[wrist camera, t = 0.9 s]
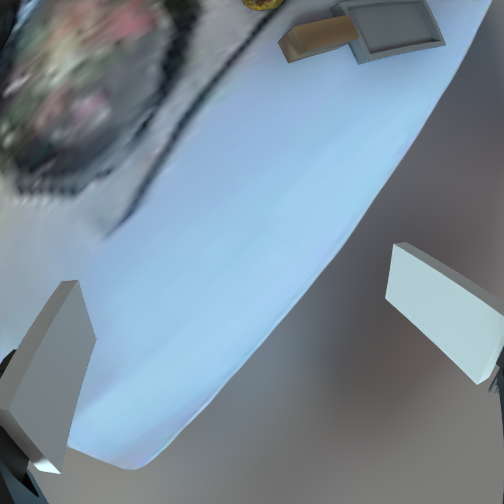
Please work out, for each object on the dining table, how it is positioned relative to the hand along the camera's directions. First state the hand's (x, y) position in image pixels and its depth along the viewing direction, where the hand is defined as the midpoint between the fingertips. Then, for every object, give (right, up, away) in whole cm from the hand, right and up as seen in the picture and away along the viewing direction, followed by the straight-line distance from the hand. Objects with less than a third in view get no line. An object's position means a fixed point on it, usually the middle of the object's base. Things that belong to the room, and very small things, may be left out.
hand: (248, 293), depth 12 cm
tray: (+19, +33, +19) cm, 43 cm away
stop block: (+7, +27, +19) cm, 33 cm away
